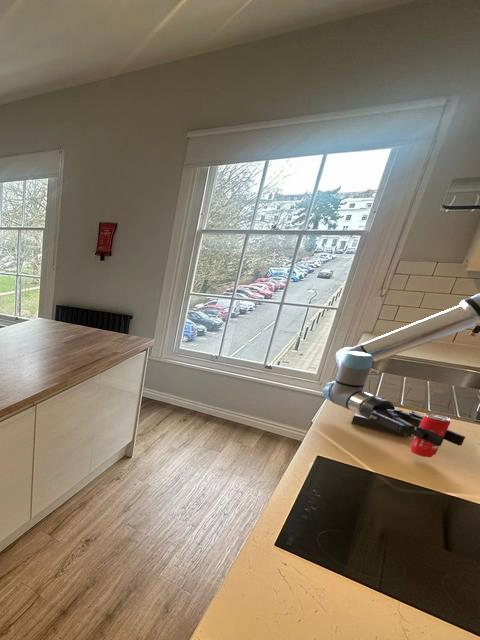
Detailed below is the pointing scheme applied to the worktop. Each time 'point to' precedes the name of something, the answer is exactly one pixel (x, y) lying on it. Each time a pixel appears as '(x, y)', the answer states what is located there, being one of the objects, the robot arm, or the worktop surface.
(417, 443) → the beverage can
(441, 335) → the robot arm
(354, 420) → the scale
